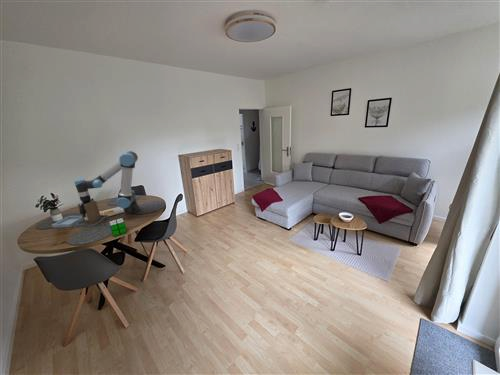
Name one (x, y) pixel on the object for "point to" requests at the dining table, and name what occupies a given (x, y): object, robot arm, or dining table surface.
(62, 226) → the bin
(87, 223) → the collar
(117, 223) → the puzzle cube
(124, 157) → the robot arm
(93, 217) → the wooden block
